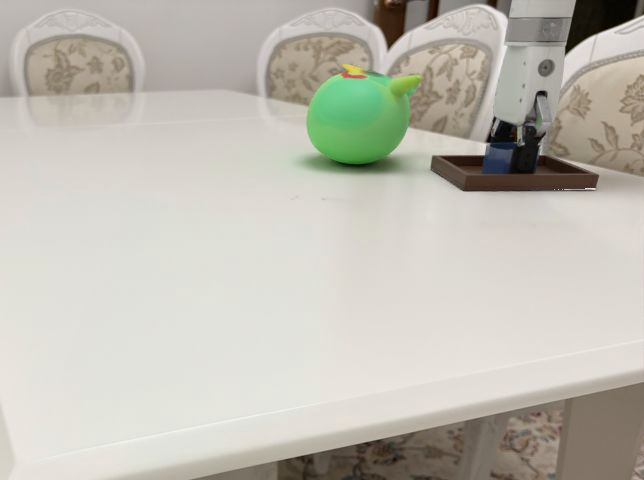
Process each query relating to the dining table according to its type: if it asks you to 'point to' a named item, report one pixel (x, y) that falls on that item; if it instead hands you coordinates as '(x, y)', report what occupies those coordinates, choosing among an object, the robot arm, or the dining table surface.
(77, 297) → the dining table surface
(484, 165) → the blue bowl
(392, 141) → the toy bird
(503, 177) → the serving tray
